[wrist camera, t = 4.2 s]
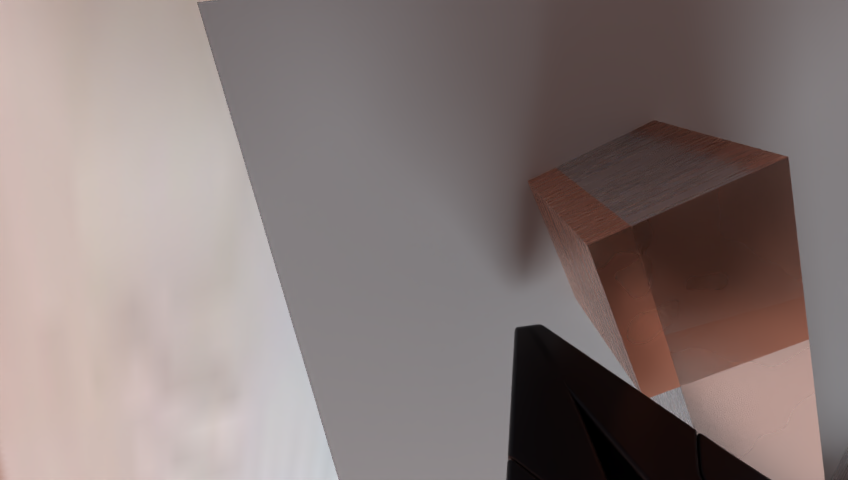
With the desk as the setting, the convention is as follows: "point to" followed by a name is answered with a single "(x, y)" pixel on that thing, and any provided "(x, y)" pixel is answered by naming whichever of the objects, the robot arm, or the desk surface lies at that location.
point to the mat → (501, 186)
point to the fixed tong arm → (842, 468)
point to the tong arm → (695, 284)
